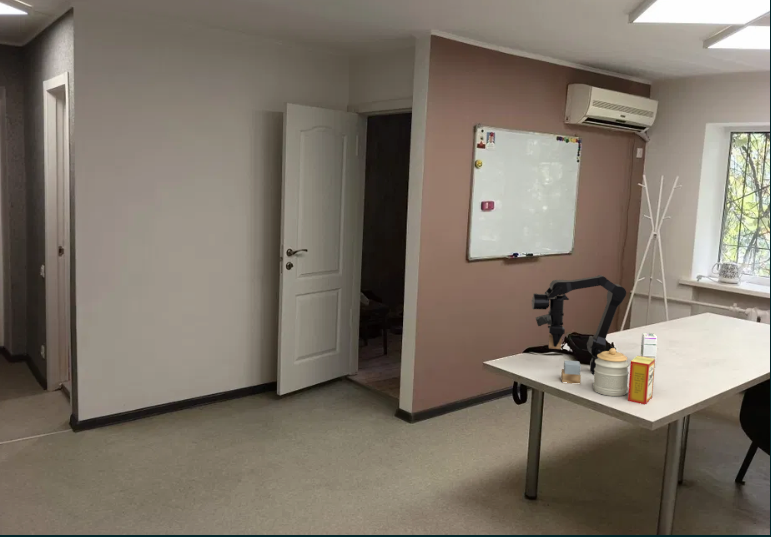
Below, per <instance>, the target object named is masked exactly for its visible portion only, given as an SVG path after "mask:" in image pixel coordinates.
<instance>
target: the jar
mask: <svg viewBox="0 0 771 537" xmlns="http://www.w3.org/2000/svg"><path fill="white" fill-rule="evenodd" d="M597 357H598V358H597V359H596V360H595V363H596V367H595V368H594V370H595V372H594V374H593V383H592V384H593V385H592V387H593V391H594V392H596V393H597V392H598V394H601V395H604V396H608V397H622V396H625V395H627V394H628V391H629V375H630V371H628V370H629V368H630V363H629V362H628V361H627V360H628V357H627V356H626V355H625V354H624V353H622V352H618V351H617V350H616V348H614V347H612V348H610V349H609V350H605V351H604V352H601V353H600V354H598V355H597Z"/></svg>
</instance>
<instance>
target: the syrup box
mask: <svg viewBox="0 0 771 537" xmlns="http://www.w3.org/2000/svg"><path fill="white" fill-rule="evenodd" d="M640 343H641V345H640V356H643V357H648V358H654V359H655V368H656V365H657V363H656V362H657V349H658V348H657V347H658V336H657V335H656V334H655V333H650V332H646V333H645V332H643V333H641V342H640Z"/></svg>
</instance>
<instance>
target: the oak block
mask: <svg viewBox="0 0 771 537" xmlns="http://www.w3.org/2000/svg"><path fill="white" fill-rule="evenodd" d="M560 372H561V374H560V375H561V376H560V379H561V378H562V379H561V382H567V383H566V384H572V383H580V384H581V378H582V377H581V376H582V374H580V375H574V374H565V372H564V368H561V371H560Z"/></svg>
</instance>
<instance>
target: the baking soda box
mask: <svg viewBox="0 0 771 537" xmlns="http://www.w3.org/2000/svg"><path fill="white" fill-rule="evenodd" d="M655 368H656V367H655V359H654V358H648V357H643V356H641V355H637V356H635V357H634V358H633V359H632V360H630V363H629V376H628V391H627V401H628V402H631V403H636V404H640V403H641V405H645V404H646V405H647V404H648V403H649V402H650V401H651V400H650V399H652V398H653V393H654V392H653V391H654V381H655V380H654V379H655ZM649 400H650V401H649Z"/></svg>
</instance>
